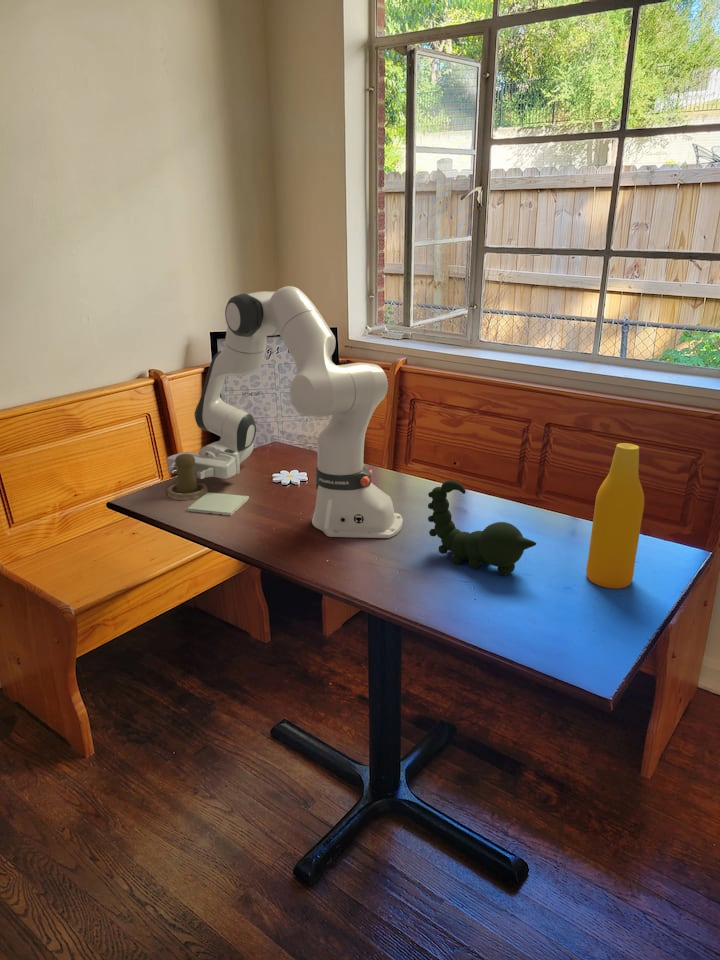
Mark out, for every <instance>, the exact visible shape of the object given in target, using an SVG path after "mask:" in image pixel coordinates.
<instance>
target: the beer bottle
mask: <svg viewBox="0 0 720 960" xmlns="http://www.w3.org/2000/svg"><path fill="white" fill-rule="evenodd" d="M639 463H640V446H639V445H636V444H633V443H627V442H622V443H617V444H616V446H615V450H614V452H613V457H612V462H611V464H610V469H609V472H608V474H607V476H606V477H605V479H604V480H603V481H602V484H601V485H600V487H599V488H598V491H597V493H596V497H595V503H594V509H593V510H594V512H593V519H592V527H591V534H590V540H589V541H590V542H589V550H588V556H587V561H586V562H587V563H586V566H585V567H586V571H585V573H586V576H587V579H588V580H589V581H590V582H591V583H593V584H594V585H597V586H599V587H603V588H606V589H612V590H613V589H624V588H627V587H628V586H630V585H631V583H632V581H633V578H634V573H635V565H636V559H637V552H638V547H639V539H640V532H641V529H642V528H641V526H642V521H643V515H644V508H645V494H644V489H643V487H642V483H641V481H640V478H639V477H640V475H639V472H640V471H639V469H640V467H639V466H640V465H639Z"/></svg>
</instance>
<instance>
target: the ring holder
mask: <svg viewBox="0 0 720 960" xmlns="http://www.w3.org/2000/svg"><path fill="white" fill-rule="evenodd" d="M197 485H198V490H199V491H197V492H194V493H185V494H183V493H177V483H174V484H171V485H170V486H168V487H167V496H168V498H170V499H172V500H178V501H191V500H196V499H197V500H198V499H200V498H201V497H202V496H204V495H205V494H206V493H208V492H209V491H208V487H207V484H206V483H205V482H204V483H203V482H201V481H197Z"/></svg>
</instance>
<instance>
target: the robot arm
mask: <svg viewBox="0 0 720 960" xmlns="http://www.w3.org/2000/svg"><path fill="white" fill-rule="evenodd" d="M224 312H225V314H224V315H225V322H226V324H227V329H226V334H225V339H224V345H223V346H224V347H223V349H222V350H220V351H218V352H217V353H215V354H214V356H213V357H212V358H211V362H210V364H209V367H208V371H207V374H206V377H205V380H204V381H205V382H204V384H203V385H204V386H203V388H202V391H201V392H202V393H201V396H200V399H199V400H198V403H197V404H196V407H195V411H194V421H195V423H196V425H197V427H198V428H199V429H200V430H204V431H206V432H208V433H213V434H214V435H217V436H218V437H220V439H219V440H218V441H217V440H216V441H214V442H211V443H208V444H207V445H205V446H203V447H201V448H200V450H199V452H198V453H197V452H196V453H195V452H189V451H183V452H179V453H176V454H172V455H169V456H168V457H167V458H166V465H167V471H168V474H170V475H175V474H178V467H177V466H176V463H175V459H176V457H177V456H178V455H181V454H191V455H193V457H194V458H195V464H194V466H193V467H194V472H195V475H196V479H201V480H203V479H205V478H219V479H229V478H232V477H234V476H236V475H238V474H240V470H241V469H240V468H241V465H240V464H241V463H242V462H244V461H245V460H246V459H247V458H249V457H250V455H251V454H252V452H253V450H254V447H255V446H254V440H255V437H256V433H257V426H256V421H255V418H254V416H253V415H252V414H251V413H249V412H246V411H245V410H242V409H240V408H237V407H236V406H234V405H231V404H228V403H226V402H224V400H223V399H222V398H221V393H222V391H223V387H224V384H225V379H226V378H227V377H229V376H233V377H234V376H235V377H242V376H247V375H250V374H253V373H255V372H256V371H258V370H259V369H260V368H261V367H262V366H263V364H264V360H265V355H266V349H267V340H268V337H273V336H280V338H281V339H282V341H283V343H284V344H285V346H286V348H287V349H288V352H289V354H290V356H291V357H292V359H293V361H294V364H295V368H296V374H295V376H294V378H292V381H291V383H290V387H289V399H290V402H291V404H292V406H293V408H294V409H295V411H296V412H297V413H298V415H299V414H300V415H301V416H303V417H310V418H311V417H312V418H315V417H316V418H323V417H327V416H331V419H330V421H329V422H328V424H327V425H326V426H325V427H324V428H323V430H321V431H320V433H319V434H318V438H317V441H316V442H317V443H316V444H317V445H316V446H317V466H316V468H315V486H316V487H315V489H316V501H315V508H314V513H313V516H312V519H311V523H312V526H313V527H314V528H315V529H318V530H320V531H321V532H323V533H324V534H325V535H326V536H327V537H330V538H360V539H361V538H362V539H363V538H364V539H365V538H366V539H367V538H369V539H371V538H372V539H390V538H392V537H394V536H396V535H397V534H398V533H399V532H400V531H401V530H402V528H403V525H404V521H403V516H402V515H401V514H400V513H398V512H395V509H394V504H393V500H392V497H390V496H389V495H388V494H387V493H385V492H384V491H383V490H382V489H380V488H379V487H377V486H376V485H375V484H374V483H373V482H372V475H373V470H372V469H370V470H368V469H367V468H366V467H365V466H364V455H365V454H364V451H365V440H366V439H365V438H366V433H367V429H368V426H369V423H370V421H371V418H372V417H373V414H374V412H375V411H376V409H377V407H378V406H379V405H380V403H381V402H382V401H383V400H384V399H385V398H386V396H387V394H388V389H389V382H388V381H389V380H388V378H387V374H386V373H385V371H384V369H383V368H382V367H381V366H379V365H378V364H376V363H371V362H370V363H369V362H362V361H361V362H359V361H358V362H353V363H345V364H344V363H343V364H340V365H339V364H337V365H336V364H335V363H334V362H333V360H332V359H331V357H332V355H333V354H334V352H335V349H336V343H337V342H336V341H337V340H336V336H335V335H334V333H333V331H332V330H331V328H330V327H329V325H328V324H327V322H326V321H325V319H324V317H323V316H322V314H321V312H320V311H319V309H318V308H317V307H316V305H314V303H313V302H312V301H311V299H310V298H309V297H308V296H307V295H306V294H305V293H304V292H303V291H302V290H301V289H300V288H298V287H296V286H291V285H288V286H287V285H286V286H283V287H281V288H278V289H277V290H275V291H265V290H264V291H263V290H262V291H255V292H251V293H250V292H249V293H240V294H236V295H234V296H232V297H230V298H229V300H228V302H227V303H226V306H225V310H224Z"/></svg>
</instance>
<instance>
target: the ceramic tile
mask: <svg viewBox="0 0 720 960" xmlns="http://www.w3.org/2000/svg"><path fill="white" fill-rule="evenodd" d="M207 492H208V493H206V494H205V495H204V496H202V497H200V498H198V499H197V500H195V502H194V503H192V504H191V505H190V506H189V507H187V509H186V510H187V512H190V511H191V512H190V513H192V512H193V513H199V514H200V513H202V514H209V513H212V515H219V514H222V516H229V515H230V516H231V517H232V516H233V515H234V514H235V513H236V512H237V511H238V510H239V509H240V508H241V507H242V506H243V505H245V503H247V501H248V499H249V500H250V496H249V495H239V494H229V493H218V492H209V491H207ZM235 511H236V512H235Z"/></svg>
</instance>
